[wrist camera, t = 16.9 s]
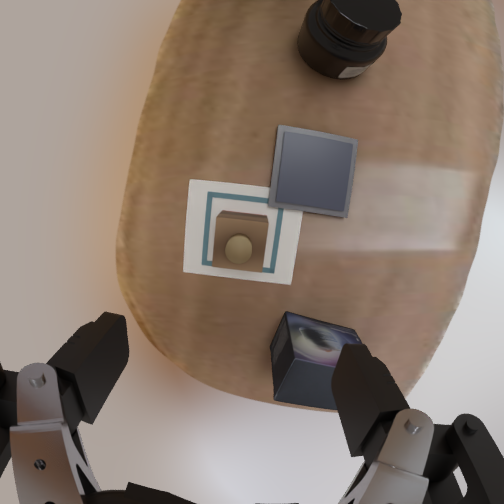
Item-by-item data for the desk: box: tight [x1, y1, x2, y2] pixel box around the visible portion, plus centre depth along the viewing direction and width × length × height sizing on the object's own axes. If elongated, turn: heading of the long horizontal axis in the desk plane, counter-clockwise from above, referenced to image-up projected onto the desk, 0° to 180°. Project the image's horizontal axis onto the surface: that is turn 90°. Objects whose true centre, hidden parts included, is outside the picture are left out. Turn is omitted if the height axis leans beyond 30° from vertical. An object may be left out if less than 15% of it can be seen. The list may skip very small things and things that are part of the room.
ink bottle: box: [298, 0, 402, 79], centre depth 20 cm, size 10×9×12 cm
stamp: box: [212, 210, 269, 273], centre depth 29 cm, size 5×5×7 cm
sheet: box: [183, 179, 303, 285], centre depth 32 cm, size 11×13×1 cm
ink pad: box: [268, 125, 358, 218], centre depth 30 cm, size 9×9×2 cm
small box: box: [270, 311, 362, 410], centre depth 31 cm, size 11×6×10 cm, turn 72°
